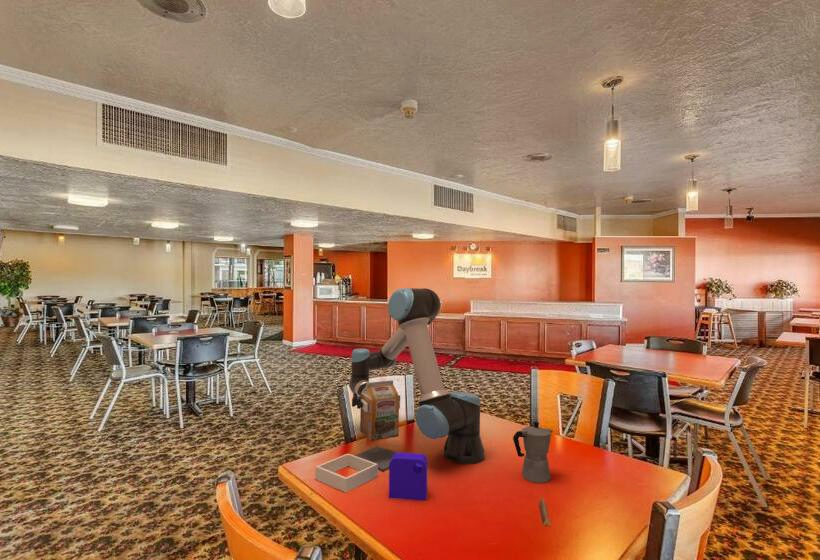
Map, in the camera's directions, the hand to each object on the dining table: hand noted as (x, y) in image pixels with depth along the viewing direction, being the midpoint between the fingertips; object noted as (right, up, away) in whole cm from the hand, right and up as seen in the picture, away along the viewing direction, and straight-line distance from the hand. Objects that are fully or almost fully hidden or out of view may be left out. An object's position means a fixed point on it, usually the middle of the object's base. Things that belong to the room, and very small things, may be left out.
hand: (383, 406), depth 149 cm
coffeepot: (+50, -20, -11) cm, 55 cm away
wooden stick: (+46, -20, -33) cm, 61 cm away
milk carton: (-2, -11, +4) cm, 12 cm away
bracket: (+10, -20, -17) cm, 28 cm away
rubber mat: (-1, -20, +3) cm, 20 cm away
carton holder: (-11, -19, -12) cm, 26 cm away
